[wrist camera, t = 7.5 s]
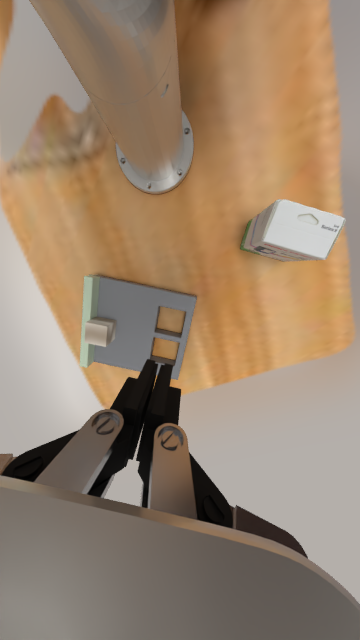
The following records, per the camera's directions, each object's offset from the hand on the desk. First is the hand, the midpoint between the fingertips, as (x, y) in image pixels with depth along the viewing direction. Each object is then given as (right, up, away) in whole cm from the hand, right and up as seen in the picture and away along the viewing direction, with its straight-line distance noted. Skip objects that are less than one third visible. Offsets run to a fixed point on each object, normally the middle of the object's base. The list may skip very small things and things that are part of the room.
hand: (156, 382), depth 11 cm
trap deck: (-7, +2, +27) cm, 28 cm away
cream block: (-13, +2, +25) cm, 29 cm away
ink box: (+17, +18, +21) cm, 33 cm away
